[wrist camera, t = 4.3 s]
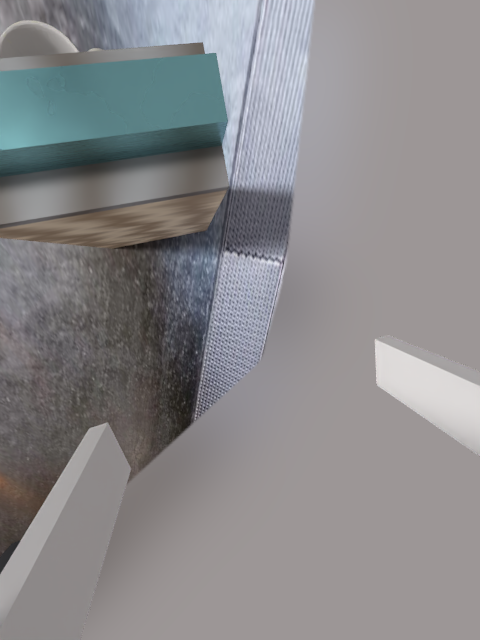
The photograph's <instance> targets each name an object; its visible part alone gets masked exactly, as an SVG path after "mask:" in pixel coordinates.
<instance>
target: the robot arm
mask: <svg viewBox="0 0 480 640" xmlns="http://www.w3.org/2000/svg"><path fill="white" fill-rule="evenodd" d="M375 354H376V355H375V356H376V376H377V377H376V379H377V385H378V386H379V387H380V388H382V389H383V390H385V391H386V392H388V393H389V394H391V395H392V396H393V397H395V398H396V399H398V400H399V401H401V402H402V403H403V404H405V405H406V406H408V407H409V408H411V409H412V410H414V411H415V412H416V413H418V414H419V415H421V416H422V417H424V418H425V419H427V420H428V421H430V422H431V423H432V424H434V425H435V426H437V427H438V428H440V429H441V430H442V431H444V432H446V433H447V434H448V435H450V436H451V437H453V438H454V439H456V440H457V441H458V442H460V443H461V444H463V445H464V446H466V447H467V448H468V449H470V450H471V451H473V452H474V453H476V454H477V455H478V456H480V371H478V370H475V369H473V368H470V367H468V366H465V365H462V364H460V363H457V362H455V361H452V360H450V359H447V358H445V357H442V356H440V355H437V354H435V353H432V352H429V351H427V350H425V349H422V348H420V347H417V346H415V345H412V344H410V343H407V342H404V341H402V340H399V339H397V338H394V337H392V336H389V335H386V336H383V337H380V338H377V339H375ZM130 471H131V468H130V466H129V464H128V462H127V460H126V458H125V456H124V454H123V452H122V450H121V448H120V446H119V444H118V442H117V440H116V438H115V436H114V434H113V432H112V430H111V428H110V426H109V424H108V423H105V424H102V425H99V426H95V427H92V428H89V430H88V432H87V433H86V435H85V437H84V438H83V440H82V441H81V443H80V445H79V446H78V448H77V450H76V451H75V453H74V455H73V456H72V458H71V459H70V461H69V463H68V464H67V466H66V468H65V469H64V471H63V472H62V474H61V476H60V477H59V479H58V481H57V482H56V484H55V486H54V487H53V489H52V490H51V492H50V494H49V495H48V497H47V499H46V500H45V502H44V504H43V505H42V507H41V508H40V510H39V512H38V513H37V515H36V517H35V518H34V520H33V522H32V523H31V525H30V526H29V528H28V530H27V531H26V533H25V535H24V536H23V538H22V540H21V541H18V542H15V543H12V544H11V545H10V546H9V547H8V549H7V550H6V551H5V552H4V553H3V554H2V555H1V556H0V640H80V639H81V636H82V632H83V629H84V625H85V622H86V619H87V616H88V612H89V609H90V605H91V602H92V599H93V595H94V592H95V588H96V585H97V581H98V578H99V575H100V572H101V568H102V565H103V562H104V558H105V555H106V551H107V548H108V545H109V541H110V538H111V534H112V531H113V528H114V525H115V521H116V518H117V514H118V511H119V508H120V504H121V501H122V498H123V494H124V491H125V488H126V484H127V481H128V477H129V474H130Z"/></svg>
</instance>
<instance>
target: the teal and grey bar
mask: <svg viewBox="0 0 480 640" xmlns="http://www.w3.org/2000/svg"><path fill="white" fill-rule="evenodd" d="M227 123H228V119H227V114H226V108H225V102H224V96H223V91H222V85H221V79H220V73H219V67H218V62H217V56H216V53H209V54H198V55H186V56H175V57H163V58H151V59H140V60H128V61H116V62H105V63H93V64H81V65H70V66H58V67H46V68H35V69H23V70H12V71H0V177H6V176H13V175H20V174H27V173H34V172H41V171H48V170H55V169H62V168H69V167H76V166H83V165H90V164H97V163H104V162H111V161H118V160H125V159H132V158H139V157H146V156H153V155H160V154H167V153H174V152H181V151H188V150H195V149H202V148H209V147H216V146H222V142H223V138H224V134H225V130H226V126H227Z"/></svg>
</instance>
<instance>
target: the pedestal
mask: <svg viewBox="0 0 480 640" xmlns="http://www.w3.org/2000/svg"><path fill="white" fill-rule="evenodd" d="M198 54H205V52H204V47H203V42H202V43H190V44H177V45H164V46H152V47H139V48H126V49H114V50H101V51H88V52H76V53H63V54H50V55H38V56H25V57H12V58H0V71H12V70H23V69H35V68H46V67H58V66H70V65H81V64H93V63H105V62H116V61H128V60H140V59H151V58H163V57H175V56H186V55H198ZM228 188H229V182H228V176H227V171H226V165H225V160H224V155H223V149H222V146H216V147H209V148H202V149H195V150H188V151H181V152H174V153H167V154H160V155H153V156H146V157H139V158H132V159H125V160H118V161H111V162H104V163H97V164H90V165H83V166H76V167H69V168H62V169H55V170H48V171H41V172H34V173H27V174H20V175H13V176H6V177H0V238H7V239H17V240H28V241H38V242H49V243H59V244H70V245H80V246H91V247H101V248H112V249H113V248H118V247H123V246H129V245H134V244H139V243H144V242H149V241H155V240H160V239H165V238H170V237H175V236H181V235H186V234H191V233H196V232H202V231H206V230H207V228H208V227H209V225H210V223H211V221H212V219H213V217H214V215H215V213H216V211H217V209H218V207H219V205H220V203H221V201H222V199H223V198H224V196H225V194H226V192H227V190H228Z"/></svg>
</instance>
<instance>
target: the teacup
mask: <svg viewBox="0 0 480 640" xmlns="http://www.w3.org/2000/svg"><path fill="white" fill-rule="evenodd" d="M101 50H102V49H100V48H93V49H91V50H89V51H101ZM76 52H79V50H78V49H77V48H76V47H75V45H74V44H73V43H72V42H71V41H70V40H69V39H68V38H67V37H66V36H65V35H64V34H63V33H62V32H60V31H59V30H57V29H56V28H54V27H53V26H50V25H48V24H46V23H43V22H39V21H27V20H25V21H20V22H17V23H15V24H12V25H11V26H9V27H8V28H7V29H6V30H5V31H4V32H3V34H2V35H1V37H0V58H12V57H25V56H38V55H50V54H63V53H76Z"/></svg>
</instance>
